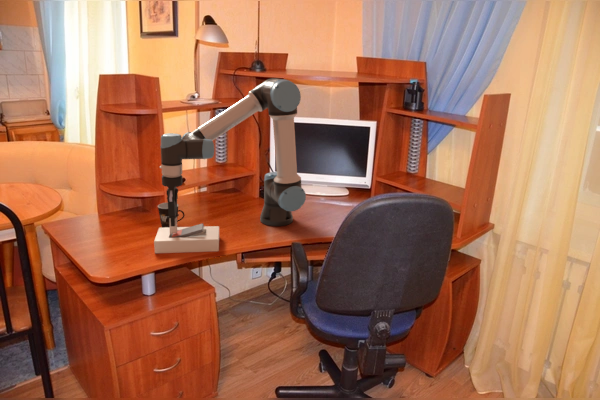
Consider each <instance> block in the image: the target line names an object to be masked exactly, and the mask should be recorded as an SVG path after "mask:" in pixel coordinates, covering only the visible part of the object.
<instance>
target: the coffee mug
mask: <svg viewBox="0 0 600 400" xmlns="http://www.w3.org/2000/svg"><path fill="white" fill-rule="evenodd" d="M157 211H158V215H159V220H160V224H161V228H165V227H170V225H169V218H167V217H168V216H169V215H168V202H162V203H160V204H158V205H157ZM179 212H180V213H182V217H181V218H180V219H178V217H179V216H176V217H177V223H178V222H180V221H182V220H183V219H184V218H185V216H186V214H185V212H184V211H183V210H181V209H179V204H178V203H177V214H179Z"/></svg>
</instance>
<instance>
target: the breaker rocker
mask: <svg viewBox="0 0 600 400" xmlns="http://www.w3.org/2000/svg"><path fill="white" fill-rule="evenodd" d="M204 226H205V225H204V223H200V224H196V225H195V224H194V225H193V226H187V227H188V228H185V229H181V230H178V231H177V233H172V235H171V238H179V237H188V236H191V235H194V234H198V233H201V232H203V229H204Z"/></svg>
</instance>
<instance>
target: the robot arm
mask: <svg viewBox="0 0 600 400" xmlns="http://www.w3.org/2000/svg"><path fill="white" fill-rule="evenodd" d="M301 95H302V94H301V91H300V88H299V87H298V86H297V84H295V83H294V82H293V81H291V80H289V79H283V78H277V77H272V78H267V79H266V80H264V81H262V83H259V84H258V85H256V86H255V87H254V88H253V89H251V90H249V91H248V94H247V95H246V96H245V97H244V98H242V99H240V100H239V101H237V102H236V103H234V104H232V105H231V106H230V107H228V108H227V109H225V110H224V111H222V112H220V113H219V114H217V115H216V116H214V117H213V118H211V119H210V120H208V121H207V122H205V123H204V124H202V125H200V126H198V127H197V128H196V129H194V130H192V131H188V132H185V133H184V134H183V135H181V134H179V133H164V134H161V137H160V146H159V147H160V161H161V165H160V166H159V169H161V174H162V175H161V185H162V186H164V187H167V190H166V199H167V203H168V215H169V216H168V217H167V218H169V225H170V233H177V227H178V222H177V221H178V218H177V217H176V216H178V217H179V215H180V214H179V213H178V214H177V204H178V199H179V198H178V196H179V188H177V187H180V186H182V185H183V160H207V159H212V158H214V155H215V144H214V140H216V139H218V138H219V137H221V136H222V135H224V134H225V133H227V132H228V131H229V130H231V129H233V128H234V127H236V126H237V125H239V124H240V123H242V122H244V121H245V120H247V119H248V118H250V117H251V116H253V115H254V114H256V113H257V112H260V113H261V112H264V111H265V110H266V109H267V110H268V111H267V112H268V116H269V118H271V119H272V126H273V127H272V129H273V139H274V153H275V154H274V155H275V166H276V167H275V168H276V169H275V170H276V171H272V172H267V173H265V174H264V177H263V178H264V179H263V184H264V188H263V189H264V190H263V191H264V192H263V196H264V197H263V207H262V209H261V212H260V213H261V214H260V217H259V218H260V219H259V220H260V223H262V224H263V225H266V226H269V227H270V226H271V227H284V226H288V225H291V224H292V223H293V220H294V219H293V218H294V216H293V212H296V211H298V210H299V209H301V207H303V206H304V204H305V202H306V198H307V194H306V192H305V189H304V188H303V187H302V177H301V176H300V175H299V174H298V167H297V166H298V165H297V164H298V163H297V147H296V131H295V117H296V116H297V115H298V106H299V105H300V104H301V103H300V102H301V97H302V96H301Z"/></svg>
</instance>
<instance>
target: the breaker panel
mask: <svg viewBox="0 0 600 400" xmlns="http://www.w3.org/2000/svg"><path fill="white" fill-rule="evenodd" d="M188 227H189V226H177V231H178V230H181V229H185V228H188ZM171 235H172V233H170V227H165V228H162V227H158V229H157V233H156V236H155V238H154V241H153V245H154V247H153V249H154V254H172V253H173V254H174V253H175V254H177V253H204V252H219V251H220V226H218V225H217V226H215V225H213V226H211V225H210V226H209V225H207V226H206V225H204V229H203V232H201V233H198V234H194V235H191V236H188V237H179V238H171Z"/></svg>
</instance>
